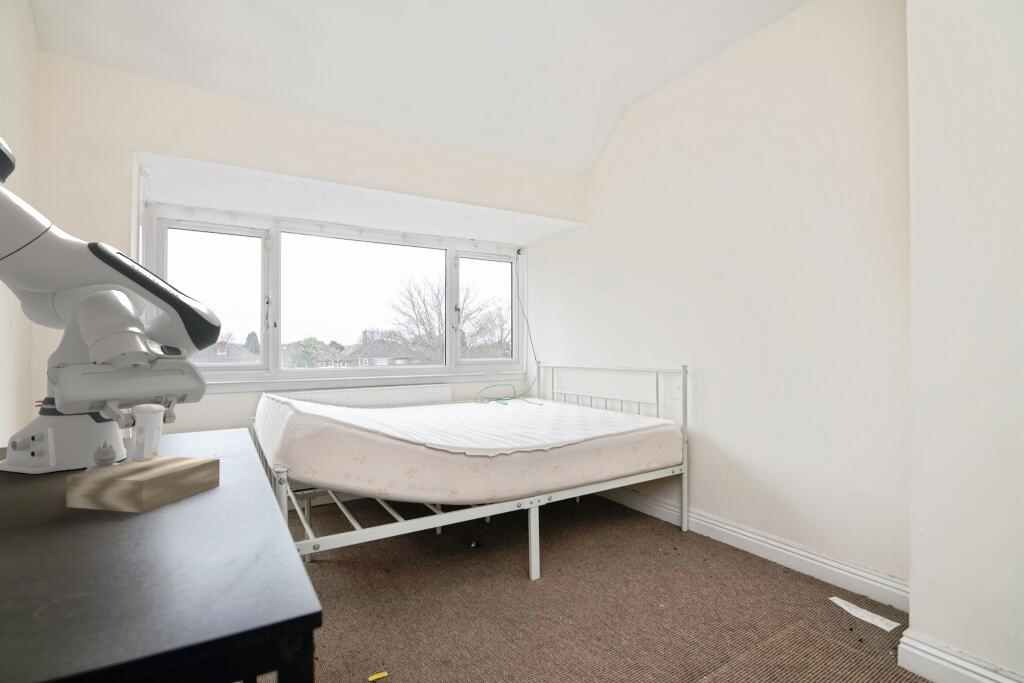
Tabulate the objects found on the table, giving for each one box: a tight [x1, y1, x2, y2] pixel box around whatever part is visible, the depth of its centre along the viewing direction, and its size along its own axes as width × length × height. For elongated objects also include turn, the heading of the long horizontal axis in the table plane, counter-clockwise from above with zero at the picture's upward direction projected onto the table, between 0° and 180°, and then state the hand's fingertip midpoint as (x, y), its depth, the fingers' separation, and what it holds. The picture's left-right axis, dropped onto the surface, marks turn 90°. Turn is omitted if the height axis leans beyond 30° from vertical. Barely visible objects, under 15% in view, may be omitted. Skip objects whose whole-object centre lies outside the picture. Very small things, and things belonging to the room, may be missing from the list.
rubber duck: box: [84, 440, 122, 472], centre depth 84 cm, size 5×7×8 cm
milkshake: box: [129, 397, 166, 462], centre depth 78 cm, size 4×5×10 cm
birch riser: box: [65, 455, 221, 514], centre depth 78 cm, size 14×14×5 cm
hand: (149, 423), depth 78 cm, fingers closed on milkshake, 4 cm apart
